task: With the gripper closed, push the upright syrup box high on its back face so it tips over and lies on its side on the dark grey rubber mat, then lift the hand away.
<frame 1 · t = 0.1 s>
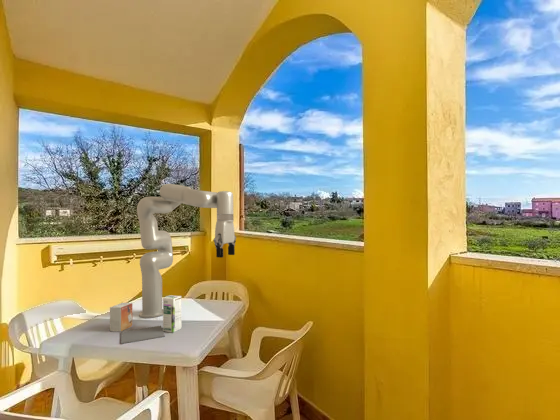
hand: (225, 256, 145), 31 cm above the table, tool pointing down, fingers open, 9 cm apart
small box: (121, 329, 142), on the table
syrup box: (172, 330, 139), on the table
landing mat: (142, 334, 134), on the table
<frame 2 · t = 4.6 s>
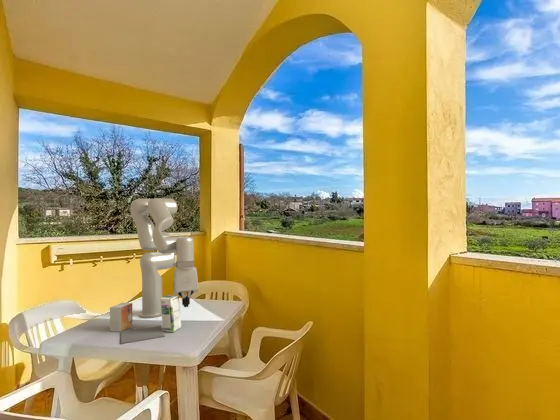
hand: (186, 306, 142), 9 cm above the table, tool pointing down, fingers closed
syrup box: (172, 329, 139), on the table, touching gripper
everything else where it was.
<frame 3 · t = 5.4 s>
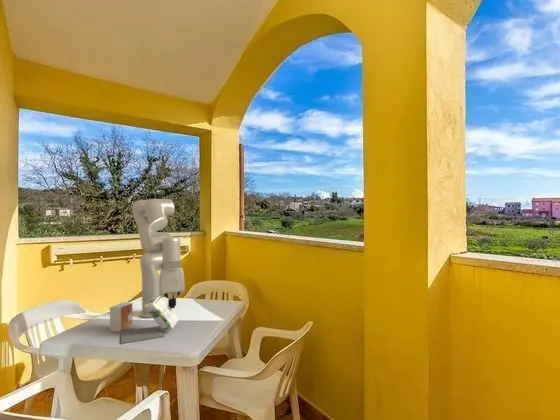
hand: (172, 307, 139), 10 cm above the table, tool pointing down, fingers closed
syrup box: (171, 325, 139), point 2 cm above the table, touching gripper, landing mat
everything else where it was.
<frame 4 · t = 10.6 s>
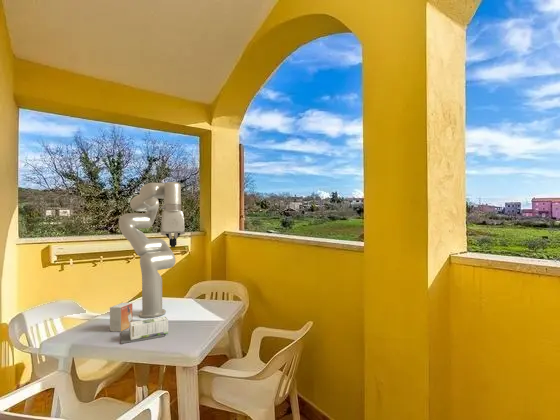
hand: (173, 247, 151), 35 cm above the table, tool pointing down, fingers closed
syrup box: (167, 324, 136), point 3 cm above the table, touching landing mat
everything else where it was.
at the end: syrup box tilted 90°; syrup box touching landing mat; syrup box inside the target area (3.4 cm from its centre), point 3.5 cm above the table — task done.
